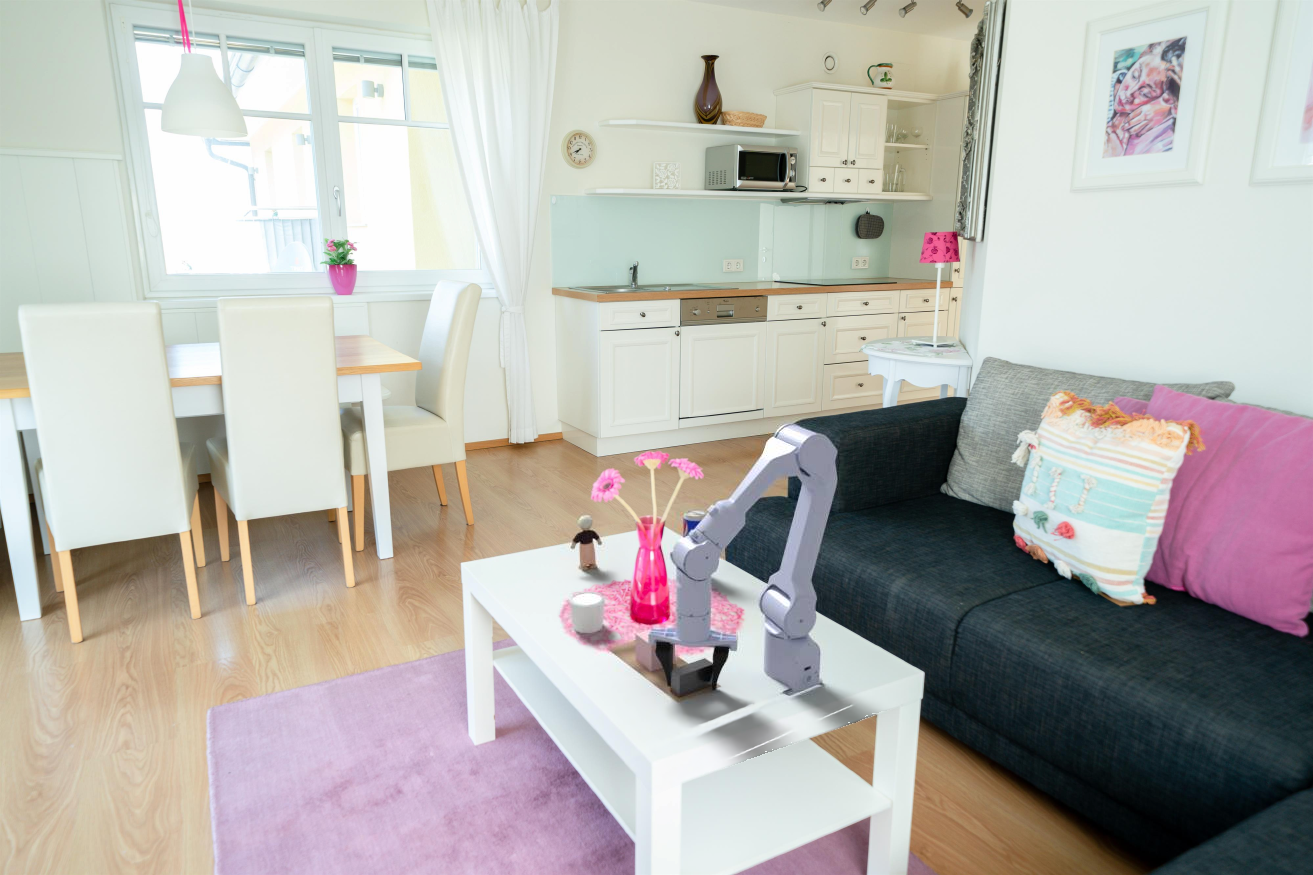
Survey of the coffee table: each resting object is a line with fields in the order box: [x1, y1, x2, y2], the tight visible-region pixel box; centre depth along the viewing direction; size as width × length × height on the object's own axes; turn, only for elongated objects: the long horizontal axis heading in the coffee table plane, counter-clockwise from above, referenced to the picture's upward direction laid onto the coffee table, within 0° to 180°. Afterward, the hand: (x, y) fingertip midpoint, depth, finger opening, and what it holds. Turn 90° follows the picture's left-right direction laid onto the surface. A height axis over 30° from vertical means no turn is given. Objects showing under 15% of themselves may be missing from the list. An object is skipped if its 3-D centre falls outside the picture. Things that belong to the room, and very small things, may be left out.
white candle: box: [568, 591, 606, 634], centre depth 159 cm, size 7×7×7 cm
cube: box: [635, 626, 676, 672], centre depth 145 cm, size 5×5×5 cm
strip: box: [607, 639, 721, 703], centre depth 144 cm, size 22×9×5 cm, turn 34°
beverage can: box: [682, 509, 707, 538], centre depth 185 cm, size 5×5×15 cm
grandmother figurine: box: [570, 514, 603, 571], centre depth 190 cm, size 8×4×13 cm, turn 130°
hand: (692, 685), depth 137 cm, fingers closed on strip, 7 cm apart
